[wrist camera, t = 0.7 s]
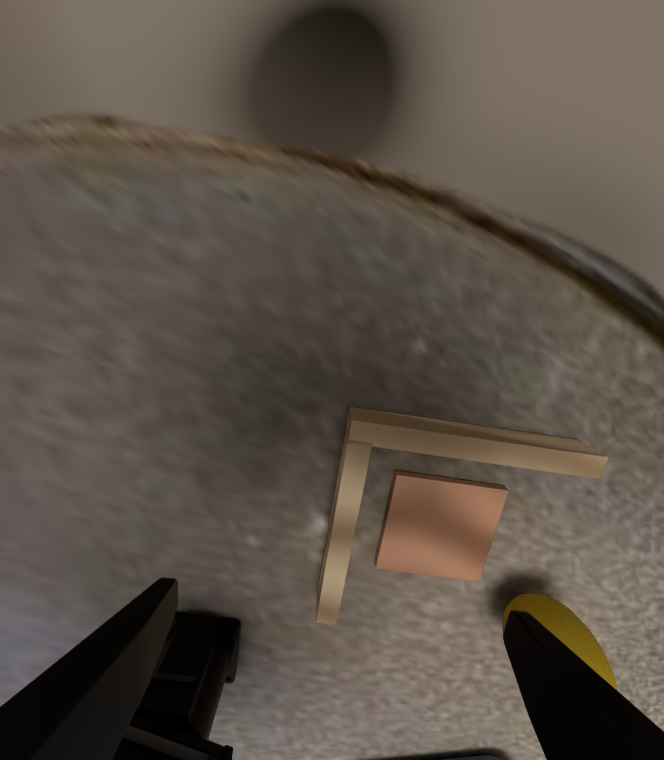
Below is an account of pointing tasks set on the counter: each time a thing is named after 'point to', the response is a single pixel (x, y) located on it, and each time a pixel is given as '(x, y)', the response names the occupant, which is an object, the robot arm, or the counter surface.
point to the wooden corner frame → (433, 496)
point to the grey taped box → (476, 758)
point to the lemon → (564, 630)
